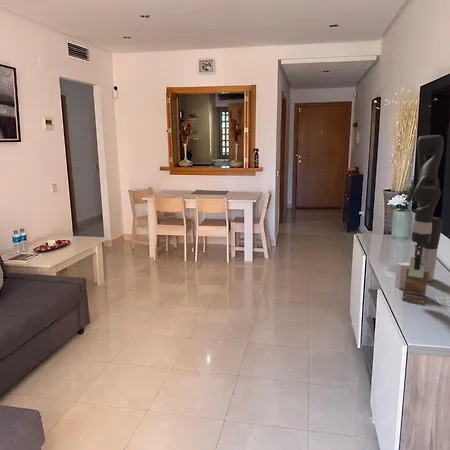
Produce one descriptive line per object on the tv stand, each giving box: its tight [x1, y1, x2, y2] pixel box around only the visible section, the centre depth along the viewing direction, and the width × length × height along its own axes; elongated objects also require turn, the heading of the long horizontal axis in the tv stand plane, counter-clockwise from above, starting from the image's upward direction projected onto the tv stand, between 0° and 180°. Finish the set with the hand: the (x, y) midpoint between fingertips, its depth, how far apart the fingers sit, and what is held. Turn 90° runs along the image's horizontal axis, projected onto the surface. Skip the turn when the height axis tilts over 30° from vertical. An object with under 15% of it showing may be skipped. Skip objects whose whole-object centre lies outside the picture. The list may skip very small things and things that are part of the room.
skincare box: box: [394, 262, 410, 289], centre depth 201 cm, size 6×4×12 cm
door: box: [408, 254, 426, 278], centre depth 183 cm, size 3×6×9 cm, turn 62°
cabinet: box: [401, 268, 428, 305], centre depth 188 cm, size 12×9×12 cm
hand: (416, 268), depth 183 cm, fingers closed on door, 2 cm apart
